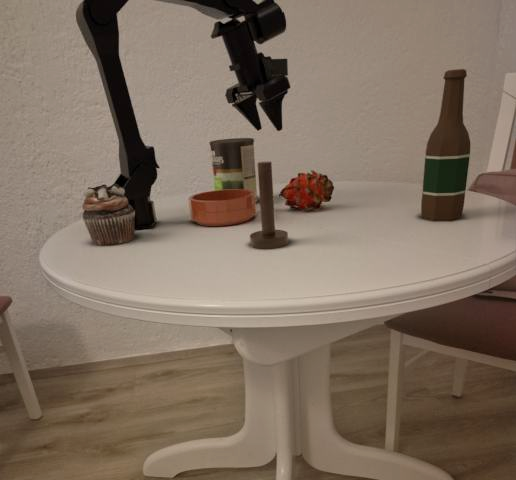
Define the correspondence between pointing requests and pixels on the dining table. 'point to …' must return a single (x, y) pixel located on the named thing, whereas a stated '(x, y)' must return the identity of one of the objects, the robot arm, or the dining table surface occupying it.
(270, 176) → the wooden peg on disc
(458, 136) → the beer bottle
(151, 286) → the dining table surface
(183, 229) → the dining table surface
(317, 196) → the dragon fruit
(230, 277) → the dining table surface
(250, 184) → the coffee can
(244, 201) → the bowl
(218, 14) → the robot arm
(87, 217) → the cupcake
